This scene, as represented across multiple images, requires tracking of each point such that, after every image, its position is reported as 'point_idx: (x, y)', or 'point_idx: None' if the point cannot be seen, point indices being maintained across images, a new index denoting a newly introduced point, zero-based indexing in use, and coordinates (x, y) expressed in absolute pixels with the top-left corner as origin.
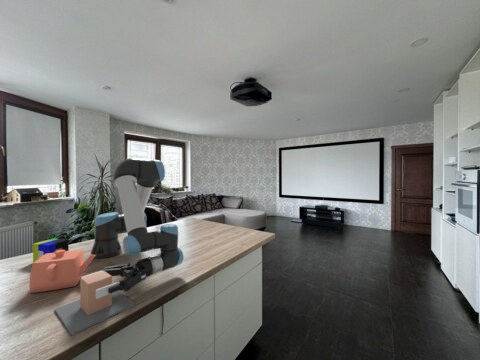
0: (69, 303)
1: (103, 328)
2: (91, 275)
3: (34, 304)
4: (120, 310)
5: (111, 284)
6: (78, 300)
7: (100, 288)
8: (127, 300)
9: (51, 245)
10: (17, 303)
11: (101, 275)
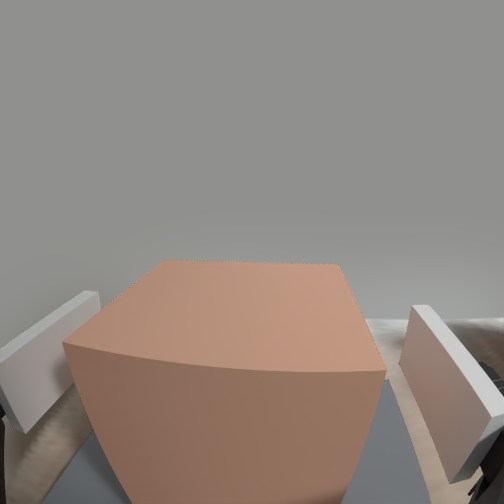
0: (400, 416)
1: (55, 414)
2: (323, 291)
3: (474, 352)
4: (46, 496)
5: (26, 336)
6: (404, 444)
7: (75, 300)
8: None
9: None
10: (497, 330)
11: (221, 319)
